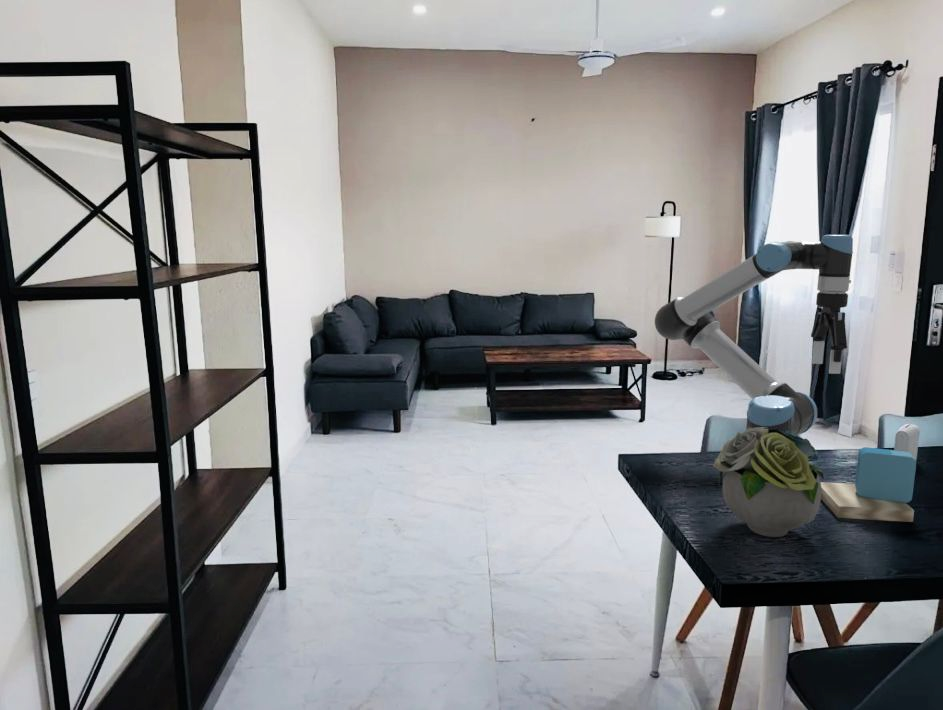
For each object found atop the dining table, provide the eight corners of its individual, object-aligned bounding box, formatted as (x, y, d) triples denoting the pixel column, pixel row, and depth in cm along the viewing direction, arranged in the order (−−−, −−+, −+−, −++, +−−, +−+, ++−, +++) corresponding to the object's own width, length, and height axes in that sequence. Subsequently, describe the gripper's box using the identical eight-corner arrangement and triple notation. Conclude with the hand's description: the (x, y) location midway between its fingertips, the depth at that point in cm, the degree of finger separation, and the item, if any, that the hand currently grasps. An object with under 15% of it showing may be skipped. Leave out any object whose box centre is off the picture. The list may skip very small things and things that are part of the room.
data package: (908, 497, 172) (914, 452, 169) (911, 504, 167) (917, 457, 165) (854, 490, 176) (859, 446, 174) (856, 496, 172) (860, 451, 170)
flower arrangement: (695, 510, 172) (701, 417, 167) (791, 507, 173) (799, 415, 169) (739, 556, 147) (747, 449, 143) (850, 553, 149) (862, 446, 144)
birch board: (837, 517, 167) (839, 506, 166) (815, 492, 183) (816, 481, 182) (912, 522, 164) (914, 510, 164) (883, 495, 180) (884, 485, 180)
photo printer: (906, 470, 200) (910, 429, 197) (889, 466, 203) (894, 426, 201) (918, 462, 206) (922, 423, 204) (902, 458, 209) (906, 420, 207)
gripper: (866, 296, 172) (857, 378, 176) (830, 288, 196) (824, 360, 200) (834, 296, 173) (827, 377, 177) (803, 288, 198) (797, 359, 201)
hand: (825, 368), depth 189 cm, fingers open, 13 cm apart
